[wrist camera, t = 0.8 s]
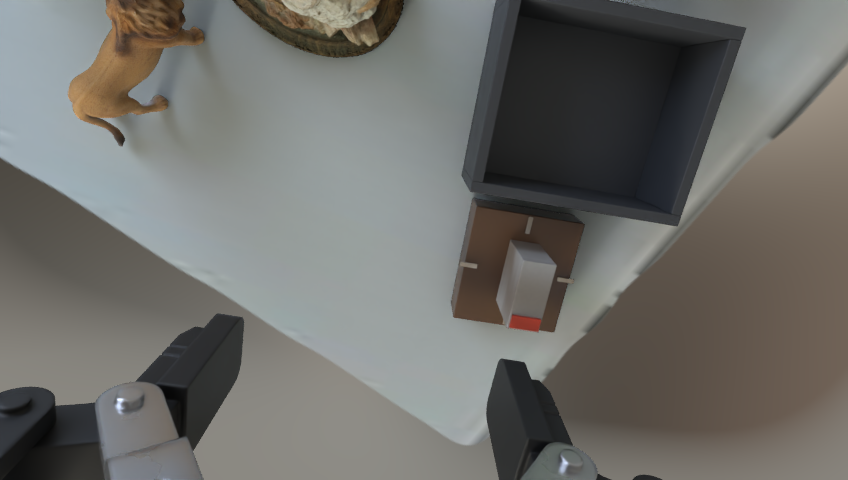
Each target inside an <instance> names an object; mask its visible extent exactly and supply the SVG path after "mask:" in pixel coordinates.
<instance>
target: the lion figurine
mask: <svg viewBox="0 0 848 480" xmlns="http://www.w3.org/2000/svg"><path fill="white" fill-rule="evenodd" d="M106 6H107V9H106V14H107V15H108V17H109V18H110V20H112V29H111V31H110V32H109V34H108V35H107V37H106V39H105V40H104V42H103V44H102V46H101V48H100V51H99V53H98V55H97V58H96V60H95V61H94V63H93V64H92V66H91V67H90V68H89V69H87V70H86V71H85V72H83V73H81V74H80V75H78V76H77V77H75V78H74V79H73V80H72V82H71V83H70V86H69V91H68V98H69V99H70V101H71V102H72V103H73V111H74V113H75V115H76V116H77V117H78V118H79V119H81V120H83V121H85V122H88V123H91V124H94V125H98V126H101V127H104V128H106V129H108V130H109V131H110V132H111V133H112V134H113V135H114V138H115V139H116V141H117V142H118V144H119V146H121V147H122V146H123V143H124V141H125V138H124V136H123V134H122V133H121V132H120V130H119V129H118V128H116V127H114V126H113V125H111V124H110V123H108V122H106V121H104V120H102V119H100V118H114V117H119V116H122V115H125V114H128V113H134V114H136V115H141V114H145V113H149V112H158V111H162V110H165V109H166V108H167V107H168V101H167V100H166V99H165V98H164V97H163V96H161V95H157V96H154V97H153V98H152V99H151V101H149V102H148V103H145V104H140V103H139V102H138V101H136V100H135V99H133V98H131V97H129V96H128V92H129V91H130V90H131V89H132V88H133V87H135V86H136V85H137V84H139V83H140V82H142V81H143V80H144V79H146V78H147V77H148V76H149V75H150V73H151V72H152V71H153V70H154V68H155V67H156V65H157V63H158V61H159V59H160V56H161V54H162V51H163V49H164V48H169V47H173V46H179V45H189V46H193V45H199V44H202V43H203V42H204V34H203V32H202V31H201V30H200V29H198V28H196V27H192V28H191V29H190V30H184V29H182V25H184V23H185V16H184V14H183V13H182V10H183V8H184V3H183V2H182V0H106ZM97 117H98V118H97Z"/></svg>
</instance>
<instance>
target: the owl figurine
mask: <svg viewBox="0 0 848 480" xmlns="http://www.w3.org/2000/svg"><path fill="white" fill-rule="evenodd" d="M233 1H234V3H235V4H236V5H237V6H238V7H239V8H240V9H241V10H242V11H243V12H244V13H245V14H246V15H248V16H249V17H250V18H251V19H252V20H253V21H255V22H256V23H257V24H258V25H259V26H260V27H262V28H263V29H265V30H266V31H267V32H269V33H270V34H272V35H274V36H275V37H277V38H278V39H280V40H282V41H284V42H285V43H287V44H290V45H292V46H294V47H296V48H299V49H300V50H303V51H306V52H309V53H313V54H316V55H322V56H327V57H333V58H334V57H336V58H339V57H350V56H351V57H353V56H359V55H362V54H366V53H367V52H370V51H372V50H373V49H375V48H376V47H378V46H379V45H380V44H381V43H382V42H384V41H385V40H386V39H387V38H388V36H390V34H391V33H392V31H393V30H394V28H395V26H397V25H396V24H397V21H398V20H399V18H400V16H401V11H402V9H403V5H404V3H403V1H404V0H233Z"/></svg>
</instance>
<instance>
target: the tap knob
mask: <svg viewBox="0 0 848 480" xmlns="http://www.w3.org/2000/svg"><path fill="white" fill-rule="evenodd" d="M556 267H557V265H556V264H555V263H554V262H553V260H552V259H551V258H550V257H549V255H548V254H547V253H546V252H545V250H544V249H543V248H542V247H541V245H540V244H535V243H529V242H523V241H517V240H510V243H509V247H508V251H507V256H506V260H505V264H504V268H503V272H502V277H501V281H500V285H499V289H498V293H497V298H496V301H497V304H498V306H499V309H500V312H501V314H502V317H503V319H504V322H505V325H506V327H507V328H511V329H517V330H524V331H531V332H537V333H538V332H539V329H540V325H541V322H542V318H543V314H544V311H545V307H546V303H547V300H548V296H549V292H550V289H551V285H552V281H553V278H554V274H555V270H556Z"/></svg>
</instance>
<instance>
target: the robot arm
mask: <svg viewBox="0 0 848 480" xmlns="http://www.w3.org/2000/svg"><path fill="white" fill-rule="evenodd" d="M243 331H244V320H243V318H242V317H237V316H231V315H225V314H216V315H215V316H214V317H213V319H211V321H210V322H209V323H208V324H207V325H206V326H205V328H200V327H194V328H192V329H190V330H188V331H186V332H184V333H182V334H180V335H179V336H178V337H177V338H176V339H175V340H174V341H173V342H172V343H171V344H170V347H167V349H166V350H165V351H164V352H163V353H162V355H160V356H159V357H158V358H157V359H156V360H155V361H154V362H153V363H152V364H151V366H150V367H149V368H148V369H147V370H146V371H145V372H144V373H143V374H142V375H141V376H140V377H139V378H138V379H137V380H136V381H135V382H129V383H124V384H120V385H117V386H114V387H112V388H110V389H108V390H107V391H105V392H104V393H102V394H101V395H100V396H99V397H98V399H97V400H96V402H95V403H88V404H75V405H61V406H55V396H54V394H53V393H52V392H51V391H49V390H47V389H44V388H39V387H22V388H16V389H11V390H7V391H4V392H1V393H0V480H203V477H202V474H201V472H200V469H199V466H198V464H197V461H196V458H195V456H194V453H193V450H194V449H195V447H196V445H197V444H198V442H199V441H200V439H201V437H202V436H203V434H204V432H205V431H206V429H207V427H208V426H209V424H210V423H211V421H212V419H213V417H214V416H215V414H216V413H217V411H218V409H219V408H220V406H221V405H222V403H223V401H224V399H225V398H226V396H227V395H228V393H229V391H230V390H231V388H232V386H233V385H234V383H235V381H236V379H237V376H238V373H239V370H240V365H241V357H242V343H243ZM486 416H487V423H488V428H489V433H490V438H491V443H492V447H493V452H494V457H495V462H496V467H497V472H498V477H499V480H610V479H608V478H606V477H603V476H601V475H599V474H598V471H597V468H596V465H595V464H594V462H593V461H592V459H591V458H590V457H589V456H588V455H587V454H586V453H584V452H583V451H581V450H580V449H578V448H576V447H575V446H573V444H572V442H571V440H570V438H569V435H568V433H567V430H566V428H565V426H564V423H563V421H562V419H561V416H559V412H558V410H557V407H556V406H555V402H554V400H553V398H552V396H551V393H550V392H549V391H548V389H547V388H546V387H545V386H544V385H543V384H542V383H541V382H540V381H539V380H532V379H531V377H530V375H529V372H528V370H527V367H526V364H525V363H524V362H520V361H513V360H507V359H500V360H499V362H498V365H497V368H496V372H495V376H494V379H493V383H492V387H491V390H490V394H489V398H488V402H487V411H486ZM633 480H662V479H660V478H657V477H654V476H650V475H639V476H636V477H635V478H634V479H633Z"/></svg>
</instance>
